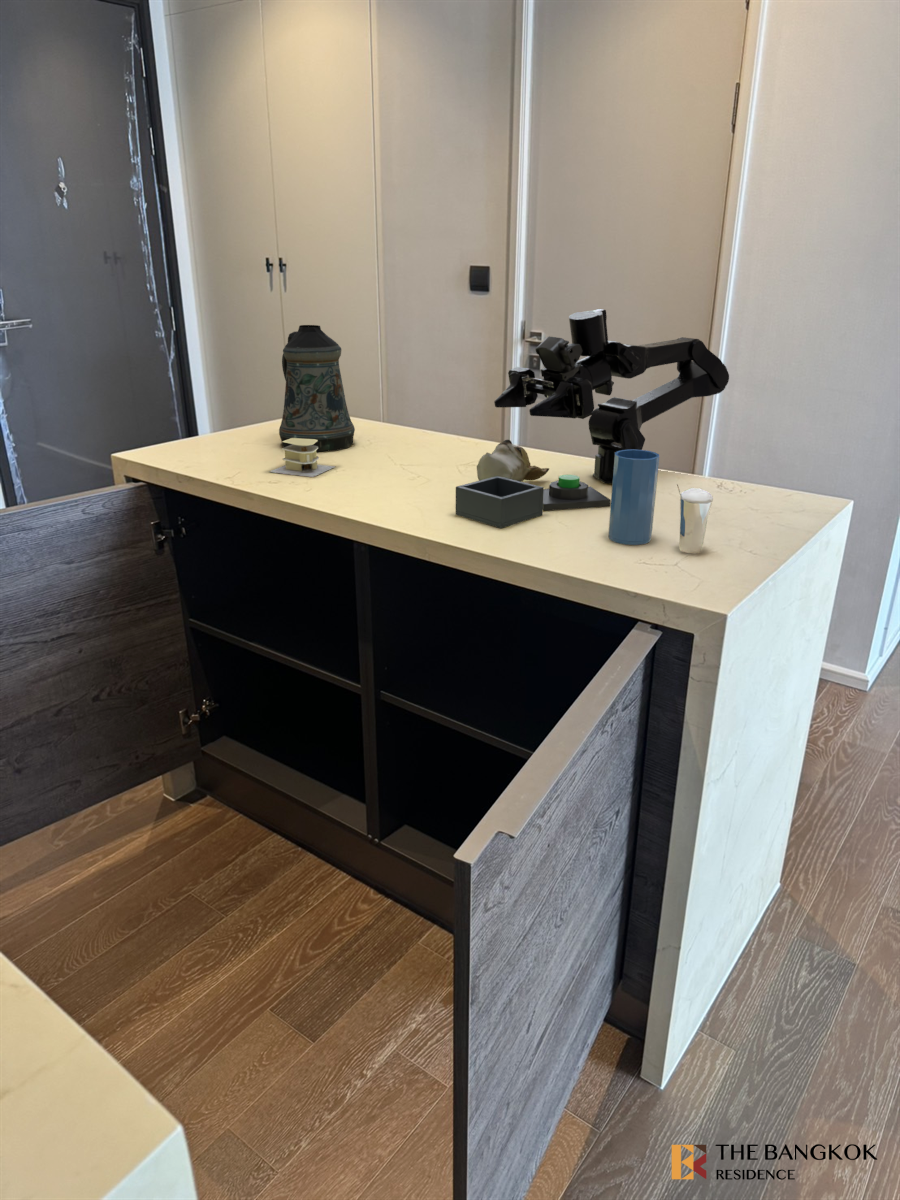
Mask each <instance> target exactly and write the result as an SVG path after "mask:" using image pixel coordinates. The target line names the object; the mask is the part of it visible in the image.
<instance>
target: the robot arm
mask: <svg viewBox="0 0 900 1200" xmlns="http://www.w3.org/2000/svg"><path fill="white" fill-rule="evenodd" d="M607 316H608V315H607V310H606V309H600V308H597V309H594V310H586V311H582V312H581V311H580V312H579V311H577V312H574V313H572V314H570V315H569V316H568V321H569V329H570V339H571V343H570V341H569V340H566V339H564V338H562V337H557V336H550V335H549V336H547V337H546V338H545V339H544V340H543V341H542V342H541V343H540V344H539V345H537V346H536V347H535V353H536V354H537V356H538V357H539V360H540V361H541V363H542V365H543V368H541V369H540V374H541V377H542V378H543V379H541V378H536V374H535V371H533V370H532V369H530V368H527V367H521V366H516V367H513V368H512V369H509V370H508V372H507V374H508V380H509V385H508V386H507V388H506V389H505V390H504V391H503V392H501V394H500V395H499V396H498V397H496V399H495V400H494V402H493V403H494V407H495V408H527V406H531V405H533V404H535V403H536V401H537V399H538V397H539V395H543V396H544V397H545V398H544V399H543V400H541V401H539V402H538V403H536V404H535V405H533V406H531V408H529V409H528V412H529V416H531V417H547V418H548V417H549V418H550V417H551V418H562V419H563V418H564V419H579V420H581V419H582V420H584V419H586V418H588V417H589V419H588V430H589V434H590V438H591V443H592V445H593V446H597V453H596V454H595V455H594V458H595V459H594V469H593V473H592V477H594V478H595V479H597V480H599V481H600V482H602V483H603V484H604V485H605V484H606V485H610V484H611V485H612V482H613V469H614V456H615V452H617V451H620V450H630V449H634V450H643V449H644V446H645V442H646V438H645V436H644V434H643V433H642V432H641V428H642V425H643V424H644V423H647V422H649V421H650V420H652V419H654V418H656V417H658V416H660V415H661V414H664V413H666V412H668V411H669V410H671V409H673V408H675V407H678V406H680V405H681V404H683V403H685V402H687V401H689V400H691V399H693V398H703V397H704V398H705V397H711V396H715V395H718V394H721V393H722V392H724V390H725V389H726V387H727V385H728V383H729V381H730V374H729V371H728V368H727V366H726V364H724V363H723V361H722V359H721V358H720V357H718V356H717V355H716V354H714V353H713V351H711V350H710V349H709V348H707V346H706V345H705V343H704V342H703V340H701V339H699V338H693V337H686V336H685V337H683V336H680V337H678V338H675V339H669V340H663V341H658V342H657V341H656V342H651V343H644V344H638V345H636V344H628V343H622V342H619V341H615V340H609V334H608V326H607V319H608V318H607ZM581 357H584V358H581ZM580 358H581V359H580ZM675 363H676V371H677V372H678V376H677V377H676V378H674V379H672V380H670V381H668V382H666V383H664V384H662V385H660V386H657V387H656V388H654V389H652V390H650V391H648V392H646V393H644V394H642V395H640V396H638V397H636V398H634V399H625V398H621V397H616V396H613V397H611V398H609V399H607V400H606V401H605V402H603V403H598V404H597V407H596V408H595V401H594V393H593V391H594V392H595V394H599V395H605V396H611V395H612V393H613V386H614V384H615V382H614V381H613V377H615V378H622V379H627V380H628V379H634V378H635V377H638V376H640V375H643V374H644V373H645V372H646V370H647V369H650V368H654V367H660V366H664V365H669V364H670V365H671V364H675Z"/></svg>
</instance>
